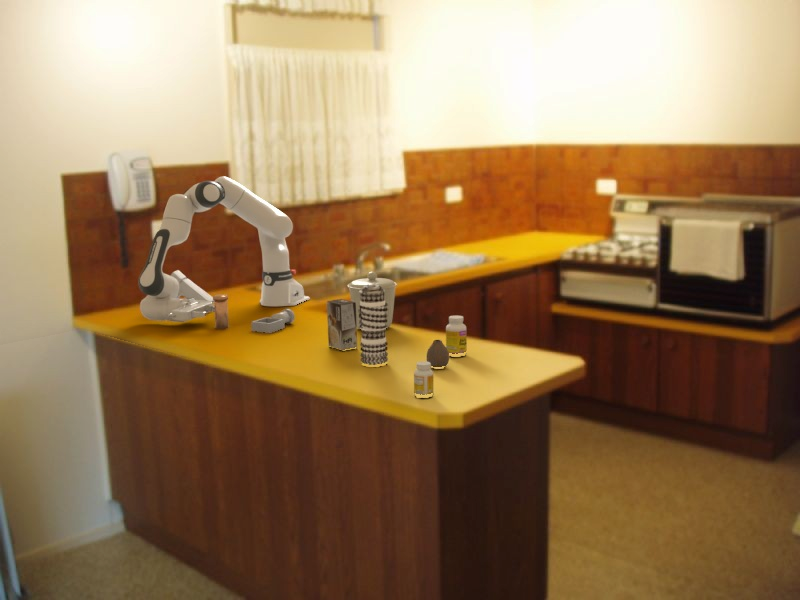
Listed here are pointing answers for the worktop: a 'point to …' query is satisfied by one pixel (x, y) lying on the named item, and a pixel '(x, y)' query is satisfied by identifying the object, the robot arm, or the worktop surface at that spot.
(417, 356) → the worktop surface
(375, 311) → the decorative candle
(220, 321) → the copper pipe stub
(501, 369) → the worktop surface
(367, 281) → the canister
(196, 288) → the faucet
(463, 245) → the worktop surface
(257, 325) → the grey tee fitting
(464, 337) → the supplement bottle
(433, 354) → the vase
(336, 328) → the coffee box
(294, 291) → the robot arm
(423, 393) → the supplement bottle
